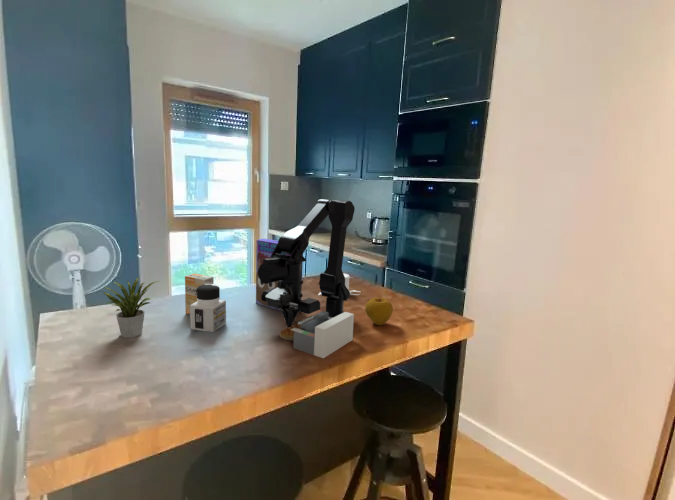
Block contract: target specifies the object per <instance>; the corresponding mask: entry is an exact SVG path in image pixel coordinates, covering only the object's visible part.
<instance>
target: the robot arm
mask: <svg viewBox="0 0 675 500" xmlns="http://www.w3.org/2000/svg"><path fill="white" fill-rule="evenodd" d="M354 214H355V205H354V204H353V202H352V201H351V200H342V199H333V200H331V199H328V198H327V199H325V198H321V199H318V200H317V201H316V204H315V206H314V207H313V208H312V209H311V210H310V211H309V212H308V214H306V216H304V218H303V219H302V220H301V221H300V222H299V223H298V225H297V226H295V227H293V228H291V229H289V230H287V231H286V232H284V233H283V234H282V235H280V237H279V239H278V240H277V241H278V244H277V245H276V247H275V249H274V251H273V253H272V255H271V258H270V259H268V258H266V259H263V263H262V264H261V265H260V267H259V269H258V276H259V279H260V281H261V282H262V283H264V284H268V283H272V282H277V281H278V283H277V288H276V289H275V288H272V289H269V290H266V291H263V293H262V294H261V300H262V301H265V302H267V304H268V306H271V307H274V308H276V309H280V310H281V311H280V312H281V313H282V316H283V318H284V322H285V325H286V328H287V327H291V326H293V325H294V322H295V320H296V319H297V317H298V314H300V313H302V314H306V315H310V314H312V313H315V312H317V311H319V310H321V302H320V301H319V299H315V298H312V297H308V298H304V299H302V298H303V296H304V295H303V293H302V292H301V293H300V285H301V284H302V285H303V284H304V280H303V279H302V280H300V278H301V262H302V263H304V262H306V261H307V258H305V256H303V255H302V254H304V253H305V251H306V250H307V248H308V246H309V244H310V237H311V236H312V235H313V234H314V232H316V230H317V229H318V228H319V227H320V226H321V224H322V223H323V222H324V220H325V219H326V218H327V217H328V221H329V222H330V224H331V232H330V239H329V240H330V241H329V249H328V255H327V256H328V257H327V266H326V268H325V270H324V272H320V275H319V282H318V285H319V289H320V292H321V296H322V297H326V303H325V310H324V311H325V312H329V315H328V317H331V318H334V317H336V316H338V315H340V314H342V313H344V312H345V311H344V302H346V301H348V299H350V296H351V295H350V292H349V291H350V289H349V290H348V289H347V288H346V286H345V277H344V274H345V273H344V272H343V261H344V252H345V247H346V246H345V245H346V244H345V243H346V237H347V229H348V227H349V225H350V224H351V222H352V221H353V219H354ZM281 253H283V254H281ZM284 254H288V255H284ZM289 255H290V256H289ZM343 273H344V274H343ZM300 298H301V299H300ZM276 309H275V310H276Z"/></svg>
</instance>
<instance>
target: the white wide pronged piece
mask: <svg viewBox="0 0 675 500" xmlns="http://www.w3.org/2000/svg"><path fill="white" fill-rule="evenodd" d="M343 274H344V277H345V286H346V288H347V289H348V290H349V292H350V296H359V294H356V293H360V291H359V290H354V289H352V290H350V289H349V288H350V279H354V277H352V276H350V275H349V274H348V273H345V272H343ZM353 292H354V293H353ZM320 295H321V296H322V294H321V291H320V292H319V293H318V295H317V296H320Z"/></svg>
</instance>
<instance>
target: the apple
mask: <svg viewBox="0 0 675 500" xmlns="http://www.w3.org/2000/svg"><path fill="white" fill-rule="evenodd" d="M364 309H365V313H366V315H367V317H368V318H369V319H370V320H371V322H372V323H373V324H374V325H377V326H383V325H385V324H386V323H387V322H388V321H389V320H390V318H391V317H392V314H393V309H394V307H393V304H392V302H391V301H389V300H388V299H386V298H384V297H373V298H371V299H370V300H368V301H367V303H366V305H365V307H364Z"/></svg>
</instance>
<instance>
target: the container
mask: <svg viewBox="0 0 675 500" xmlns="http://www.w3.org/2000/svg"><path fill="white" fill-rule="evenodd" d="M220 295H221V294H220V286H219V285H217V284H204V285H201V286H199V287H198V288H197V302H195V303H193V304H191V305H190V314H189V315H190V316H189V318H190V329H191V330H195V331H201V332H209V333H210V332H211V333H214V332H216V331H217V330H218V329H220V328H221V327H222V326H224V325H226V323H227V301H226V300H225V299H220V298H221V297H220Z"/></svg>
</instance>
